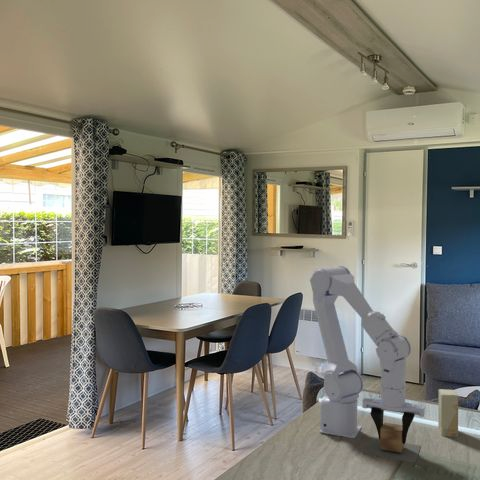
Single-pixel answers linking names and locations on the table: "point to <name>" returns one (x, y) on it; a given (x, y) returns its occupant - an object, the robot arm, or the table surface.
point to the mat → (406, 455)
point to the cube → (391, 437)
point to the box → (448, 412)
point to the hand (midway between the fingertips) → (392, 440)
